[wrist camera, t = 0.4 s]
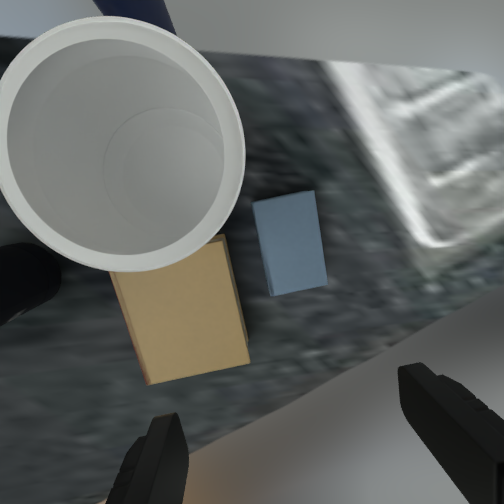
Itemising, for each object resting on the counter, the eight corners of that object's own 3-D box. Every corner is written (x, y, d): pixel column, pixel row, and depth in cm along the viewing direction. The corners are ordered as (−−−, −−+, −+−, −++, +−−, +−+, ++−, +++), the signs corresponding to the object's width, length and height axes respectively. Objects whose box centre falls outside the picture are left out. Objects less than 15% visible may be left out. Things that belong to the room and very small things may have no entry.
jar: (217, 107, 25) (197, -25, 10) (251, 214, 27) (275, 231, 12) (107, 143, 25) (-71, 60, 10) (150, 248, 27) (53, 305, 12)
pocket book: (250, 202, 27) (252, 203, 24) (305, 190, 27) (314, 190, 24) (267, 286, 29) (271, 296, 26) (318, 275, 29) (328, 284, 26)
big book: (127, 253, 27) (106, 265, 23) (224, 233, 27) (222, 240, 23) (159, 357, 30) (146, 385, 25) (248, 338, 30) (250, 363, 26)
